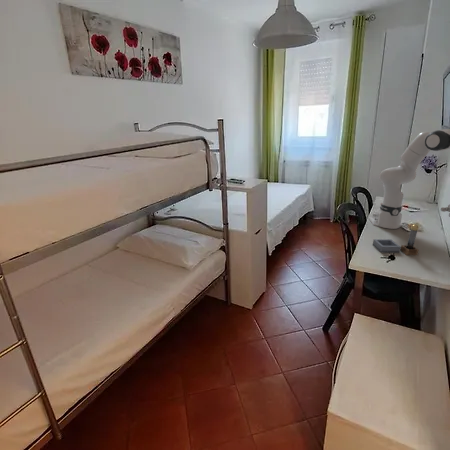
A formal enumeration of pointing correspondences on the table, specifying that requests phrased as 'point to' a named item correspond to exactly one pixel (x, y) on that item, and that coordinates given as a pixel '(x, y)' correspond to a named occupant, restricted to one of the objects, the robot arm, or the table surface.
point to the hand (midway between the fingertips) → (445, 212)
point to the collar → (409, 250)
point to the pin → (412, 236)
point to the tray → (386, 246)
